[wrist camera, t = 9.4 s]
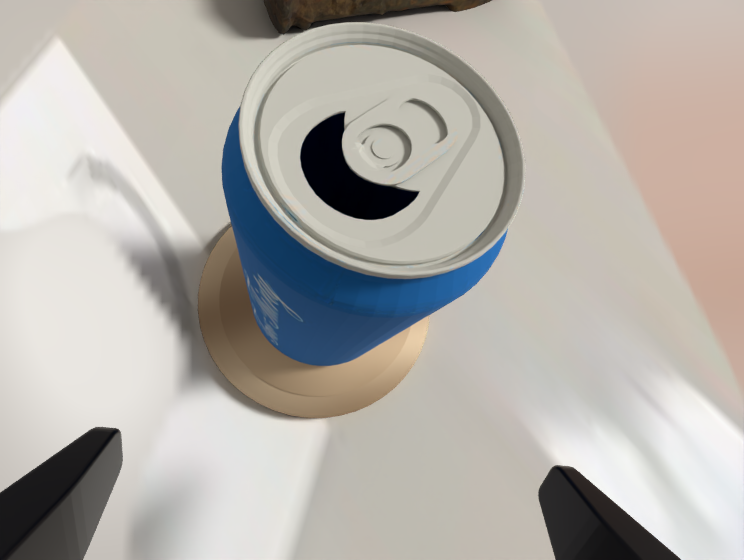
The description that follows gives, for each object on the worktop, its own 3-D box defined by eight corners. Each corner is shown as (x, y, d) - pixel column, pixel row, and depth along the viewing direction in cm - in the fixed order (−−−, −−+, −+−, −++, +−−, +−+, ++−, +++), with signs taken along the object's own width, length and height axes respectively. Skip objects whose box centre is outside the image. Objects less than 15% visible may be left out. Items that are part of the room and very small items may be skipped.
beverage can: (222, 288, 18) (128, 85, 6) (329, 212, 20) (397, -32, 9) (315, 398, 17) (389, 384, 6) (414, 307, 19) (599, 174, 8)
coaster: (461, 356, 20) (467, 354, 19) (251, 464, 16) (250, 466, 16) (371, 176, 22) (374, 170, 21) (167, 237, 18) (163, 231, 18)
